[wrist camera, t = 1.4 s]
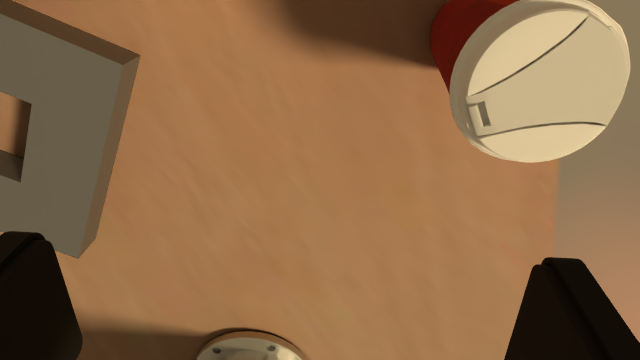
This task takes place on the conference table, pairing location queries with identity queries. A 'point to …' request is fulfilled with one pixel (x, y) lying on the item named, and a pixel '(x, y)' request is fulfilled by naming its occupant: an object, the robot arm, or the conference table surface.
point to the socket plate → (61, 125)
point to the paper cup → (530, 73)
